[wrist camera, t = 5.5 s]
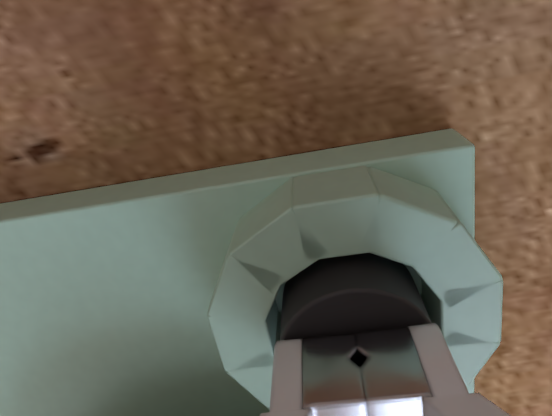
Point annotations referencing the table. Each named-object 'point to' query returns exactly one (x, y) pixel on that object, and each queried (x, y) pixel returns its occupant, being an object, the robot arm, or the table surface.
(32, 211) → the scale
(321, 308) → the tare button
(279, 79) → the table surface
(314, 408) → the robot arm
